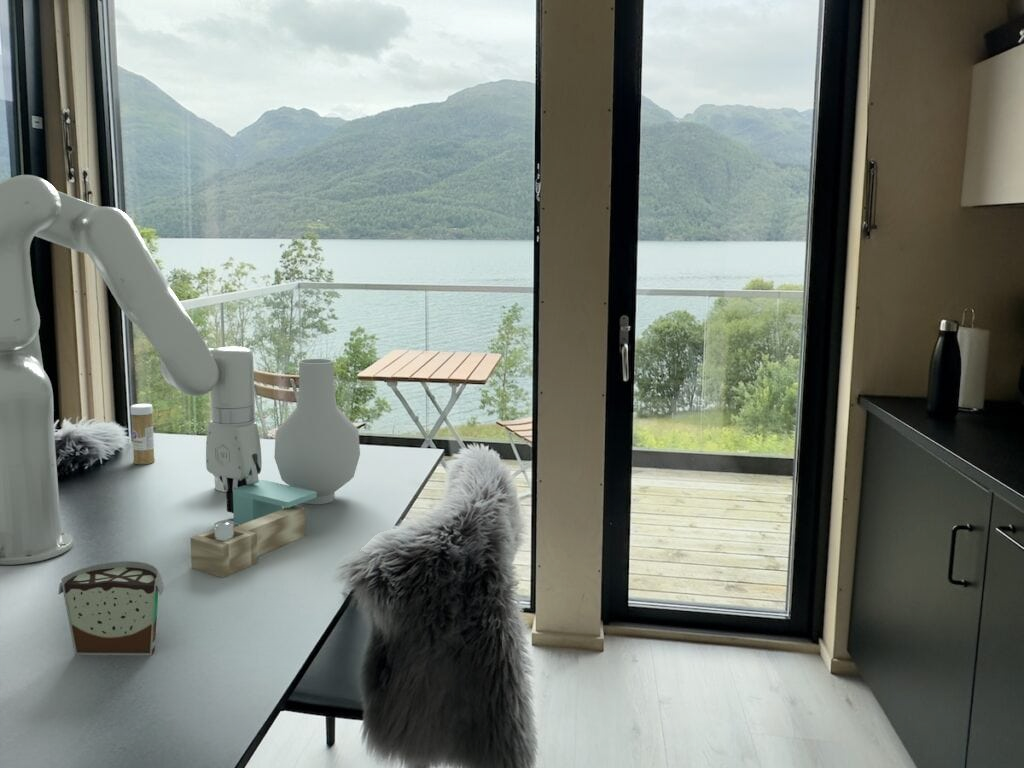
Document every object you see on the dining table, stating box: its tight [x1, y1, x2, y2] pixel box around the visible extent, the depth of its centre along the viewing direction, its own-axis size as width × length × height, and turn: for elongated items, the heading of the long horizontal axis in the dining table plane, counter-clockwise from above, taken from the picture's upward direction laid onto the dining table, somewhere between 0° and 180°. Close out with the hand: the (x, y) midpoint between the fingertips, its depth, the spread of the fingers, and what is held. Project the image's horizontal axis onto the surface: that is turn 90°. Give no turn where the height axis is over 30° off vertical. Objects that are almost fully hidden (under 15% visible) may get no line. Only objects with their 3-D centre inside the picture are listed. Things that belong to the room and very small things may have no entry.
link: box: [189, 505, 306, 579], centre depth 133 cm, size 20×7×5 cm, turn 151°
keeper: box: [233, 479, 317, 526], centre depth 144 cm, size 7×14×6 cm, turn 61°
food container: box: [57, 560, 165, 656], centre depth 102 cm, size 12×6×10 cm, turn 92°
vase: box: [274, 358, 361, 505], centre depth 159 cm, size 17×16×28 cm
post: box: [213, 519, 234, 542], centre depth 127 cm, size 3×3×7 cm
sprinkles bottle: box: [130, 403, 156, 466], centre depth 183 cm, size 5×5×14 cm
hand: (236, 510), depth 150 cm, fingers closed
